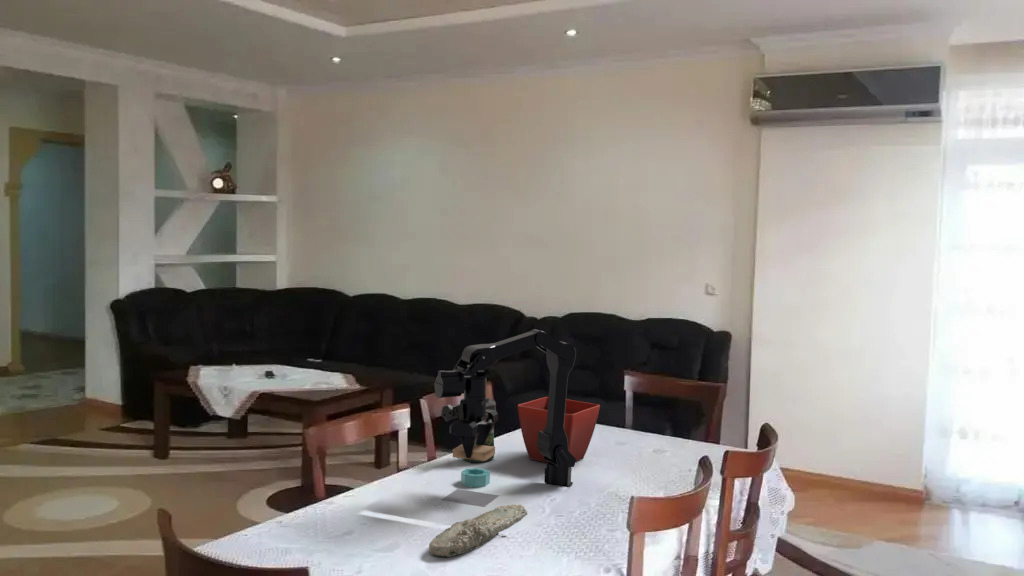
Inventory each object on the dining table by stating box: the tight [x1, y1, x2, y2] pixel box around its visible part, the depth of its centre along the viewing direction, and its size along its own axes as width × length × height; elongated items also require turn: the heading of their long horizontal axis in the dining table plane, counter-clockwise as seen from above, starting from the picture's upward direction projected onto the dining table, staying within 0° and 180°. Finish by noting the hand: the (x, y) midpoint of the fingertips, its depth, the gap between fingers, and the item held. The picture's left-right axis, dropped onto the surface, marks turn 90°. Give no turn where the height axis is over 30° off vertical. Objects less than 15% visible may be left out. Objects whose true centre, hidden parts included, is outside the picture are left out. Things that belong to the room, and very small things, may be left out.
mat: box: [440, 488, 500, 508], centre depth 218 cm, size 12×10×1 cm
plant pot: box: [517, 396, 601, 464], centre depth 260 cm, size 19×19×17 cm
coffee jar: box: [462, 398, 497, 463], centre depth 257 cm, size 10×8×19 cm
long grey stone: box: [428, 504, 528, 558], centre depth 195 cm, size 35×5×10 cm
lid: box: [452, 443, 496, 462], centre depth 221 cm, size 9×7×2 cm
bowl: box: [460, 467, 491, 488], centre depth 230 cm, size 7×7×4 cm
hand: (474, 454), depth 221 cm, fingers closed on lid, 7 cm apart
